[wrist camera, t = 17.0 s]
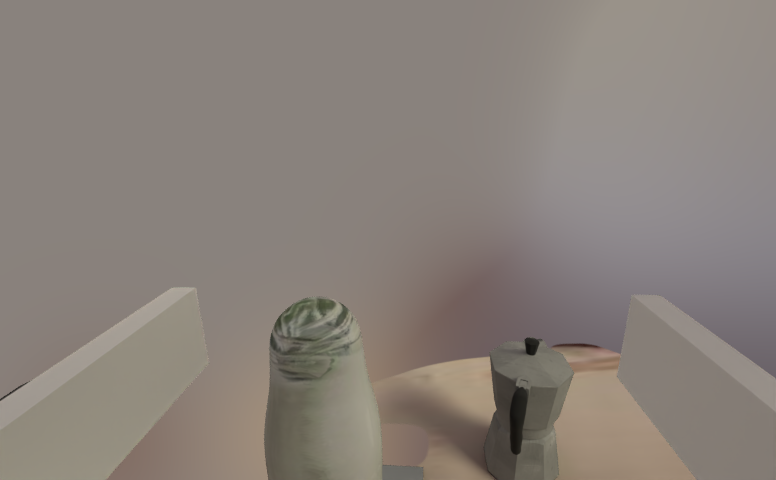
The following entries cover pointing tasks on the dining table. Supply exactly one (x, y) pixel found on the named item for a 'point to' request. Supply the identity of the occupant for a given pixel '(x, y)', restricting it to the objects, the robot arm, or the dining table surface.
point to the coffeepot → (526, 410)
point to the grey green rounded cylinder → (320, 397)
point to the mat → (401, 473)
